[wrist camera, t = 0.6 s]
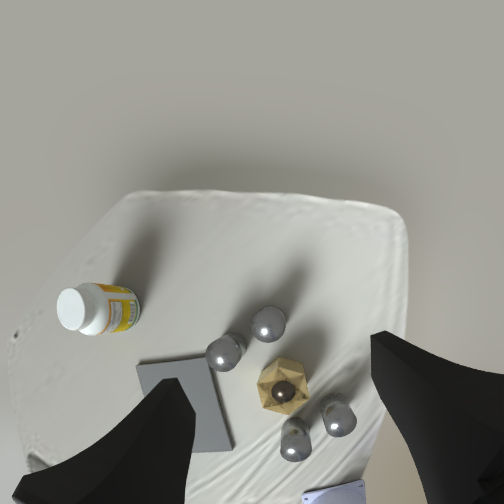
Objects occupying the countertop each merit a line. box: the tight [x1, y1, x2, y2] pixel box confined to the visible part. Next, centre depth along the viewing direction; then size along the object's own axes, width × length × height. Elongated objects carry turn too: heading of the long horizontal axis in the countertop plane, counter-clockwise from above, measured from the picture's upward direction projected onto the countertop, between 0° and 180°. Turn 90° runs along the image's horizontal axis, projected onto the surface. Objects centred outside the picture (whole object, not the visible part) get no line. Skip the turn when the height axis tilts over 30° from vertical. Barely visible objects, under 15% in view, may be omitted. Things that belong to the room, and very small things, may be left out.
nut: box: [257, 357, 310, 415], centre depth 25 cm, size 5×4×4 cm
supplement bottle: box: [57, 283, 140, 335], centre depth 26 cm, size 5×5×10 cm
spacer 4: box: [320, 394, 357, 437], centre depth 24 cm, size 3×3×5 cm
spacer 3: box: [280, 418, 312, 462], centre depth 24 cm, size 3×3×5 cm
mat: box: [136, 357, 233, 453], centre depth 28 cm, size 12×9×1 cm
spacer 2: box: [251, 306, 285, 343], centre depth 26 cm, size 3×3×5 cm
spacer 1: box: [206, 333, 246, 372], centre depth 26 cm, size 3×3×5 cm
